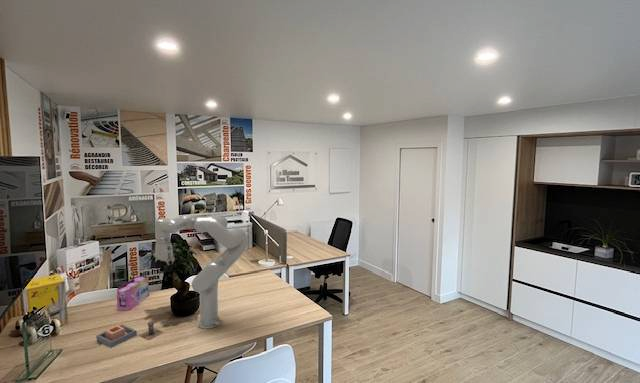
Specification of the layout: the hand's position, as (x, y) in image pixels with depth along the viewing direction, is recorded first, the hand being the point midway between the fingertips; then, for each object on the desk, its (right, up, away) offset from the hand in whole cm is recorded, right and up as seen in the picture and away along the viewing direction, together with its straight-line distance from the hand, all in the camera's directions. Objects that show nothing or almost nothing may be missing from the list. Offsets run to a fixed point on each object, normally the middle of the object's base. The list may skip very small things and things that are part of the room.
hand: (164, 269), depth 189 cm
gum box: (-32, -28, +26) cm, 50 cm away
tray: (-17, -32, -17) cm, 40 cm away
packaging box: (-65, -30, -2) cm, 72 cm away
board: (-1, -32, -13) cm, 34 cm away
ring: (-17, -31, -17) cm, 40 cm away
